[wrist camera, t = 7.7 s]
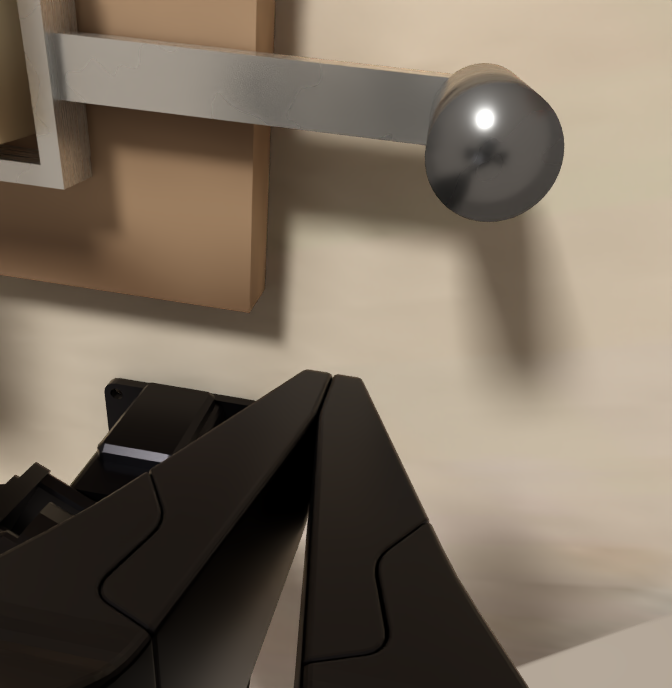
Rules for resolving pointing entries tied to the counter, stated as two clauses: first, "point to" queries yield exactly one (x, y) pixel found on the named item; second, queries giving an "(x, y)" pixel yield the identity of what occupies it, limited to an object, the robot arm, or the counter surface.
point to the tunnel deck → (155, 180)
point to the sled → (288, 108)
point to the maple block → (13, 78)
